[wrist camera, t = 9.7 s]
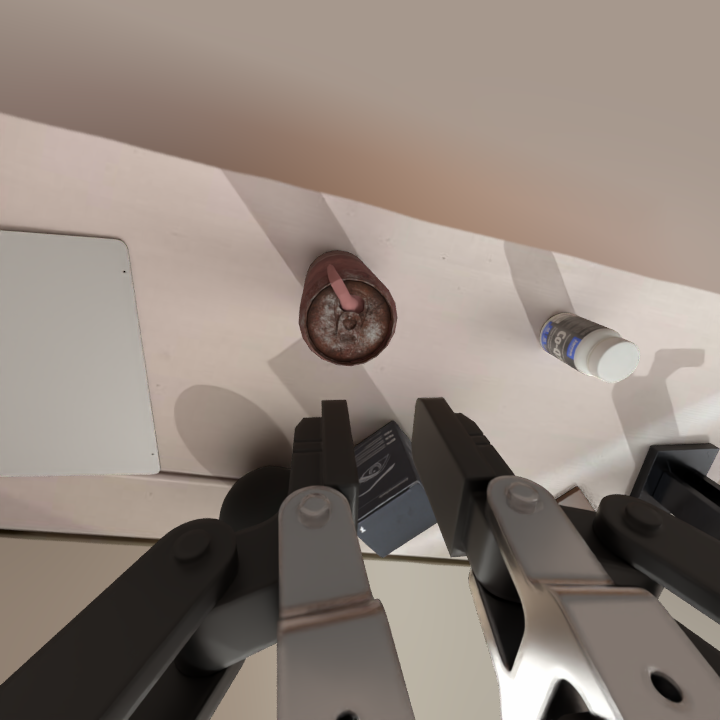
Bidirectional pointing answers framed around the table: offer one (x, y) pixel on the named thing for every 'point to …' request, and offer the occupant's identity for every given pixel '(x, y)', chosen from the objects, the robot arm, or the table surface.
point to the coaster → (575, 500)
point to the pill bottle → (589, 347)
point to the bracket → (682, 484)
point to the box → (390, 492)
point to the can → (345, 310)
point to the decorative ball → (255, 497)
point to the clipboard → (71, 360)
